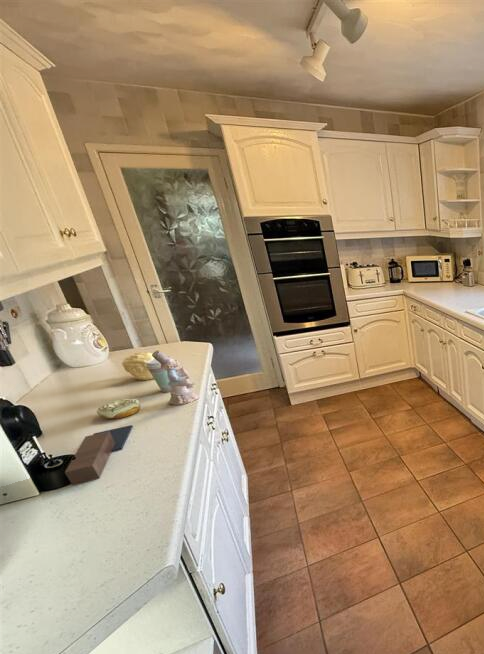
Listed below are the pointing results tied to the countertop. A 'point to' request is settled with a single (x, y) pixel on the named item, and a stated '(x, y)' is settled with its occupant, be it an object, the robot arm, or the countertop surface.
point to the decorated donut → (119, 409)
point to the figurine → (176, 380)
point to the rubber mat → (119, 436)
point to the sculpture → (138, 365)
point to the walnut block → (90, 458)
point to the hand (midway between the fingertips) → (8, 365)
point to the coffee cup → (159, 374)
